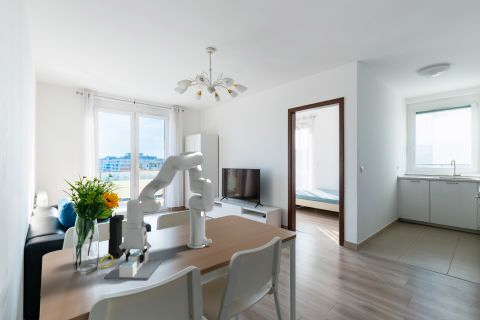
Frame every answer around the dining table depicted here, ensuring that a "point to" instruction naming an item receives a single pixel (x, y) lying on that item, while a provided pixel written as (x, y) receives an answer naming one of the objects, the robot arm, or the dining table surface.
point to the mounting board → (139, 274)
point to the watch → (105, 257)
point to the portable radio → (115, 236)
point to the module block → (135, 258)
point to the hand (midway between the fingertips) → (135, 261)
